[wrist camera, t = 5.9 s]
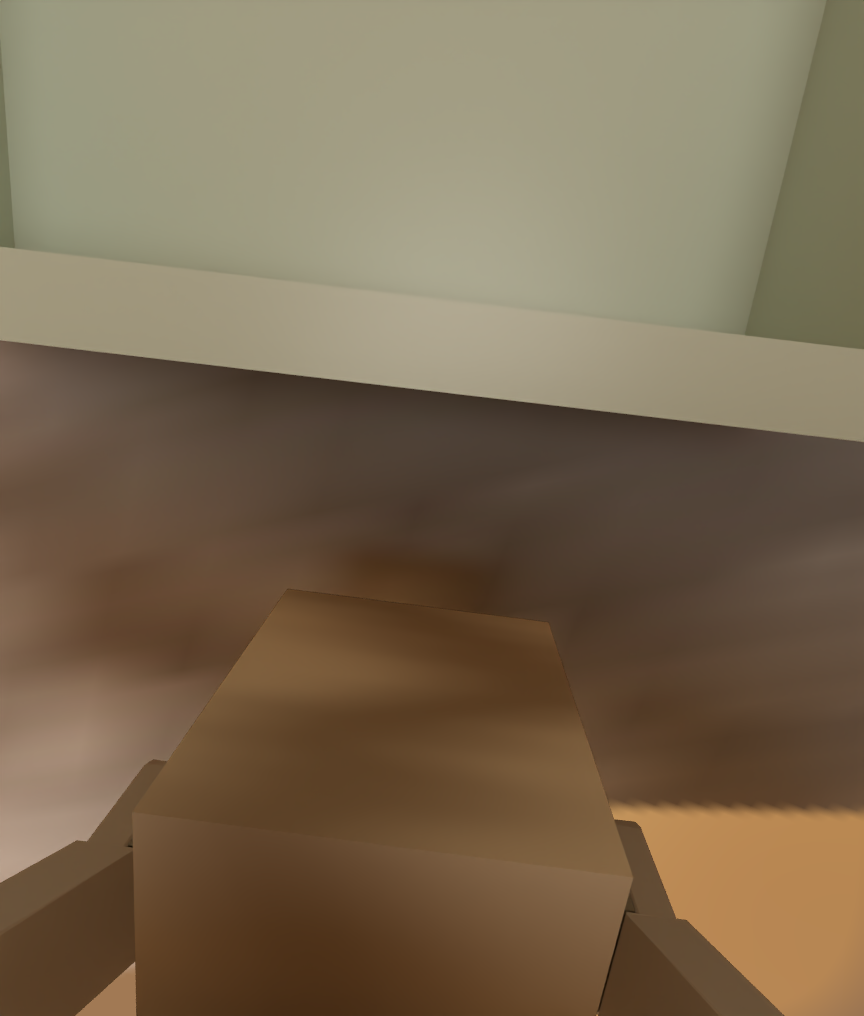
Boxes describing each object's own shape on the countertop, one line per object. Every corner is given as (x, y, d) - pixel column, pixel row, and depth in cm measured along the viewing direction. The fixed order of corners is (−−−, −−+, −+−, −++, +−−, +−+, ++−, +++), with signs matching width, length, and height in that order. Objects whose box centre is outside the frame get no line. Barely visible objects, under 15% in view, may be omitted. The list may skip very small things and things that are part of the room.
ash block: (547, 622, 10) (633, 878, 5) (496, 895, 12) (524, 1284, 7) (287, 589, 10) (131, 811, 5) (271, 866, 12) (140, 1232, 7)
